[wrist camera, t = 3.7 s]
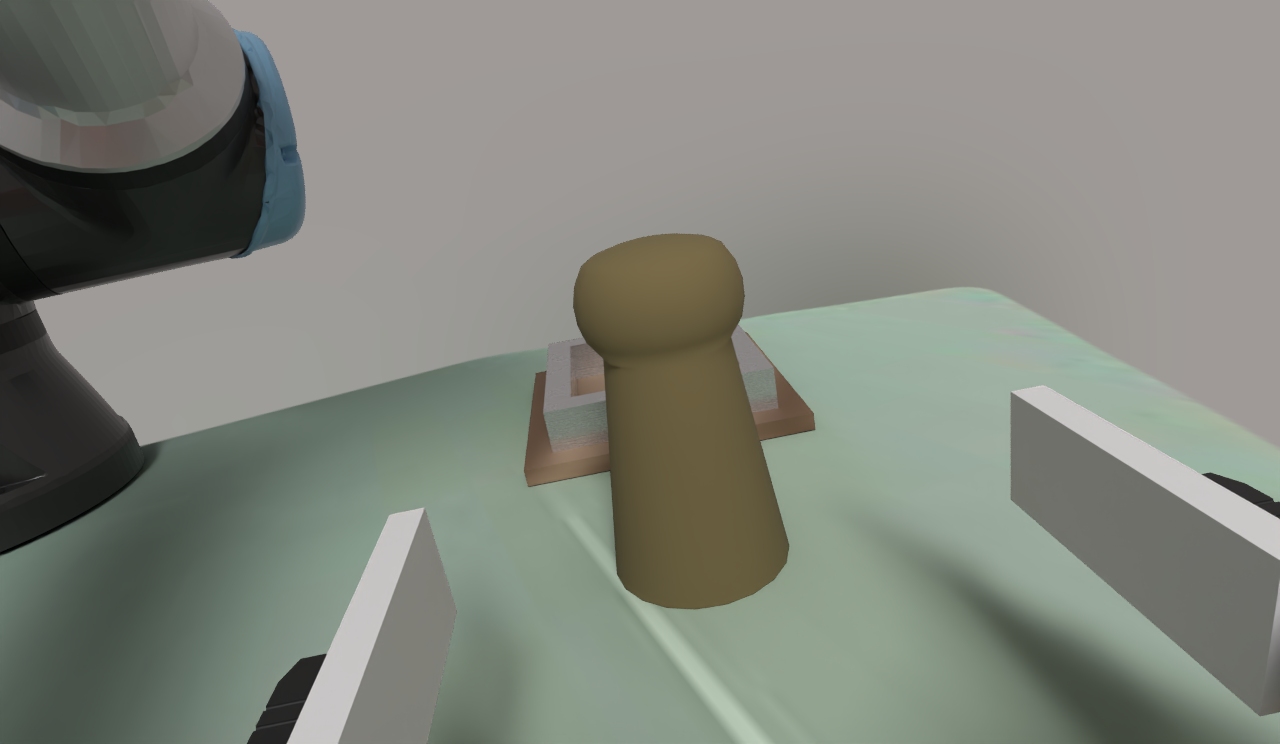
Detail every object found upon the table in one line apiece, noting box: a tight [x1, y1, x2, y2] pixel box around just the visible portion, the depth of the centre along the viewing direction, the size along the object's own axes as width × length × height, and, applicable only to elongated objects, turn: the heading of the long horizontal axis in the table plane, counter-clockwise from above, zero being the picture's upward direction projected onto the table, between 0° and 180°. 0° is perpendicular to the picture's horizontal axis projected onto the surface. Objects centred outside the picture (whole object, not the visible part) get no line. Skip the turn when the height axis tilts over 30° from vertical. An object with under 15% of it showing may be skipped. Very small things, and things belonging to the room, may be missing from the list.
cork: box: [573, 234, 789, 609], centre depth 24 cm, size 6×6×11 cm
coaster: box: [524, 325, 815, 486], centre depth 38 cm, size 13×13×3 cm
